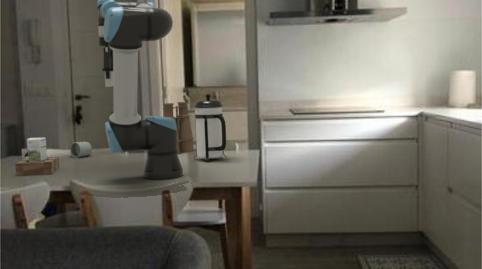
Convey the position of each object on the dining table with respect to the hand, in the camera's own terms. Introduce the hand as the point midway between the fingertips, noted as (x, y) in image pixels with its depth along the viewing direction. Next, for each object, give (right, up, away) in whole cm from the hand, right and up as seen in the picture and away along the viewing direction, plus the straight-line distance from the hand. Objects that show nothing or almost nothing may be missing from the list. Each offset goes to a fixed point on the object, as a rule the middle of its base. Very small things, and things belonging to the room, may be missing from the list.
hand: (110, 86), depth 233 cm
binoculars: (+24, -30, +38) cm, 55 cm away
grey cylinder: (-24, -32, +34) cm, 53 cm away
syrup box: (-29, -37, -6) cm, 47 cm away
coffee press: (+44, -33, +11) cm, 55 cm away
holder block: (-29, -37, -6) cm, 47 cm away
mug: (-41, -34, +20) cm, 57 cm away
